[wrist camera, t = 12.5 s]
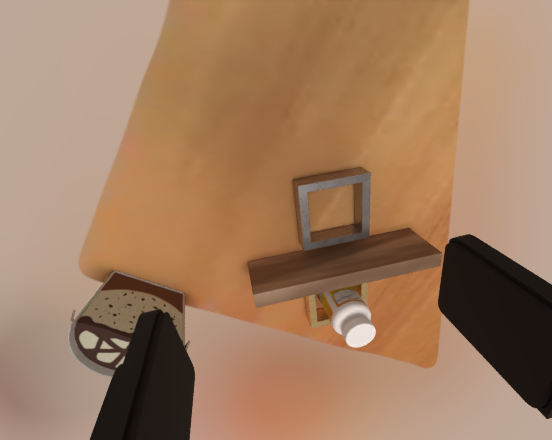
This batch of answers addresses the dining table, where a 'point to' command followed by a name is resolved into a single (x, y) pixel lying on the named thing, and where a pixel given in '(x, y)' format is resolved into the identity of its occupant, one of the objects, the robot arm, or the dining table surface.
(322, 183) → the double square frame
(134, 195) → the dining table surface
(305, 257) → the brown wooden plank
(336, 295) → the supplement bottle
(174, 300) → the food container
